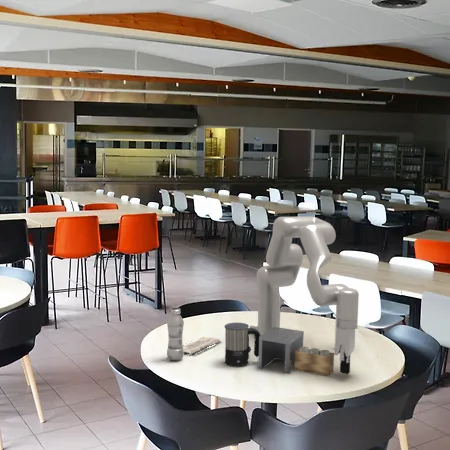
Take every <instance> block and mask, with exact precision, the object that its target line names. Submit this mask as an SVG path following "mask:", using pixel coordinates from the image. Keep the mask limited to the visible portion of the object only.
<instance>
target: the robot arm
mask: <svg viewBox="0 0 450 450" xmlns="http://www.w3.org/2000/svg"><path fill="white" fill-rule="evenodd" d="M336 237H337V235H336V230H335V229H334V227H333V225H332V224H331V223H329V222H328V221H325V220H323V219H320V218H318V217H315V216H308V215H307V216H305V215H304V216H279V217H277V218H276V219H275V220H274V221H273V225H272V235H271V239H270V242H269V245H268V248H267V252H266V256H265V261H266V263H267V265H264V266H261V267H260V268H259V269H258V270H257V272H256V284H257V288H258V289H257V291H258V295H257V296H258V300H257V303H258V304H257V305H258V306H257V308H258V309H257V310H258V311H257V326H254V325H249V328H254V329H256V330H258V331H259V333H260V335H262V334H264V333H266V332H267V331H269V330H270V329H272V328H274V327H278V328H281V327H280V326H281V325H280V324H281V295H280V293H279V292H278V291H277V288H283V287H289V286H290V287H291V286H292V285H294V284H295V282H296V280H297V278H298V274H299V272H300V269H301V265H302V264H303V259H304V258H303V257H304V253H303V250H302V247H303V249H304V252H305V255H306V257H307V260H308V262H309V268H308V270H307V274H306V286H307V290H308V292H309V295H310V298H311V299H312V301H313V302H314V304H315V305H317V306H319V307H328V306H336V305H337V312H336V311H335V320H336V327H337V334H336V343H335V342H334V356H338V355H339V372H340V373H341V374H345V375H348V374H350V372H351V357H352V356H351V355H352V354H353V352H354V350H355V345H356V330H357V329H358V320H359V319H358V318H359V296H360V295H359V290H357V289H354V288H350V287H348V285H345V284H343V283H333V284H324V285H322V283H321V280H320V278H319V270H320V269H322V268H324V267H325V266H327V265H328V264H329V263H330V262H331V261H332V255H331V252H330V250H329V247H328V245H331V244H333V243H334V242H335V240H336ZM296 238H297V239H298V238H300V239H299V240H300V242H301V244H302V247H301V246H300V245H298V243H292V242H293V239H296ZM253 338H254V339H255V335H254V334H253Z"/></svg>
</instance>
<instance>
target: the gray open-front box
mask: <svg viewBox="0 0 450 450" xmlns="http://www.w3.org/2000/svg"><path fill="white" fill-rule="evenodd" d="M304 334H305V333H304V330H303V331H302V330H298V329H293V328H292V329H291V328H285V327H284V328H283V327H280V328H278V327H274V328H272V329H270V330H269V331H267V332H266V333H264V334H262V335H261V336H259V356H258V366H257V368H258V369H259V370H262V369H263V368H265V367H267V366H268V365H269V364H270V363H272V362H273V361H275V360H280V361H284V374H286V375H289V374H291V367H292V366H291V364H292V362H294V363H295V352H296V351H297V350H298V349H299V348H300V347H304V337H305V336H304Z"/></svg>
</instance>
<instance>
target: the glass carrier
mask: <svg viewBox="0 0 450 450" xmlns="http://www.w3.org/2000/svg"><path fill="white" fill-rule="evenodd" d="M334 363H335V352H332V351H330V350H327V349H321V350H320V349H319V348H316V347H315V348H314V347H313V348H309V347H308V346H303V347H300V348H299V349H298V350H297V351H296V352H295V362H294V371H296V372H302V373H308V374H314V375H319V376H324V377H330V375H331V374H332V373H333V372H334V370H335V369H334Z"/></svg>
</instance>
